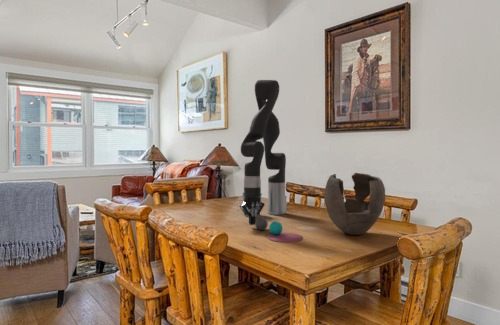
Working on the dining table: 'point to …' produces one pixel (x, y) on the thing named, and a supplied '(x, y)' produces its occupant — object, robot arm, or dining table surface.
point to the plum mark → (285, 237)
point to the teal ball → (275, 228)
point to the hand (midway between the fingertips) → (252, 224)
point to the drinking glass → (243, 202)
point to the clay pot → (355, 203)
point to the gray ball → (261, 223)
